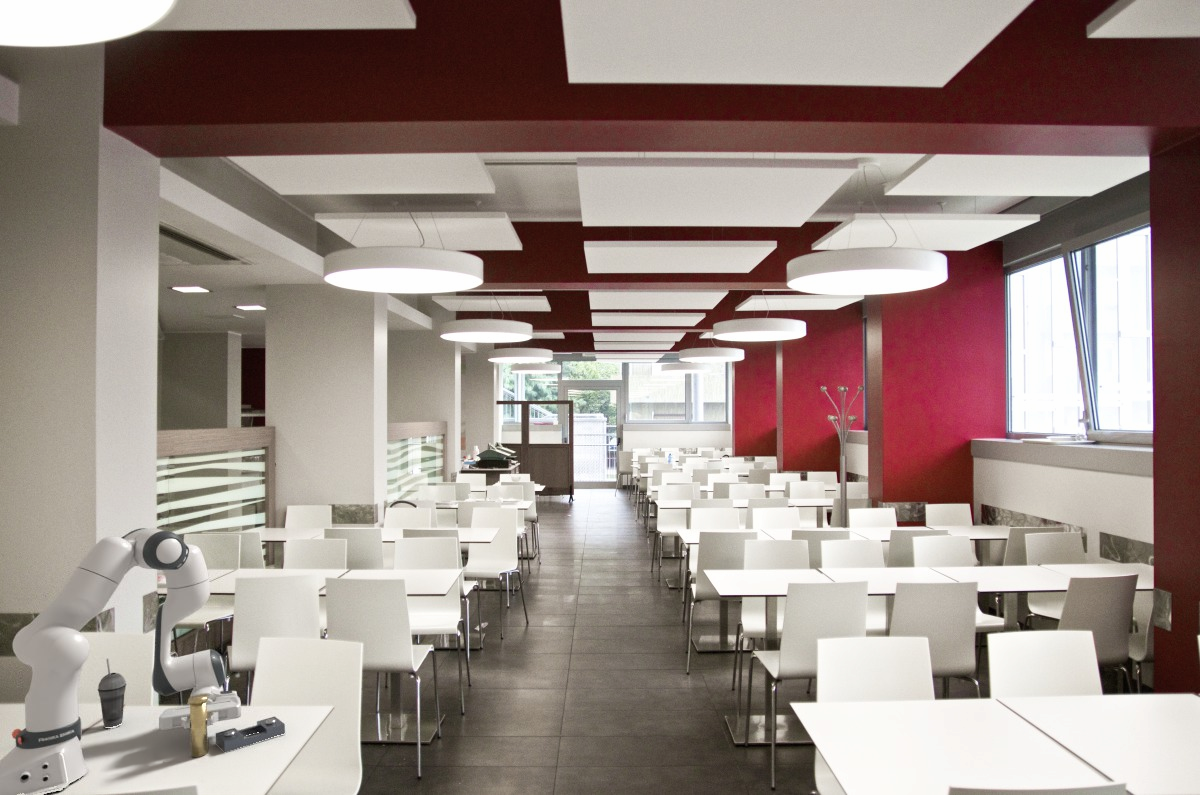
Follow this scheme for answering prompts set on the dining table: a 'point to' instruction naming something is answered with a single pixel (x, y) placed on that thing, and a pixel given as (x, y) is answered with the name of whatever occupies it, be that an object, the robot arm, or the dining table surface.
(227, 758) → the dining table surface
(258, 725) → the slotted clamp bar
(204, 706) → the pin
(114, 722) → the beverage cup
